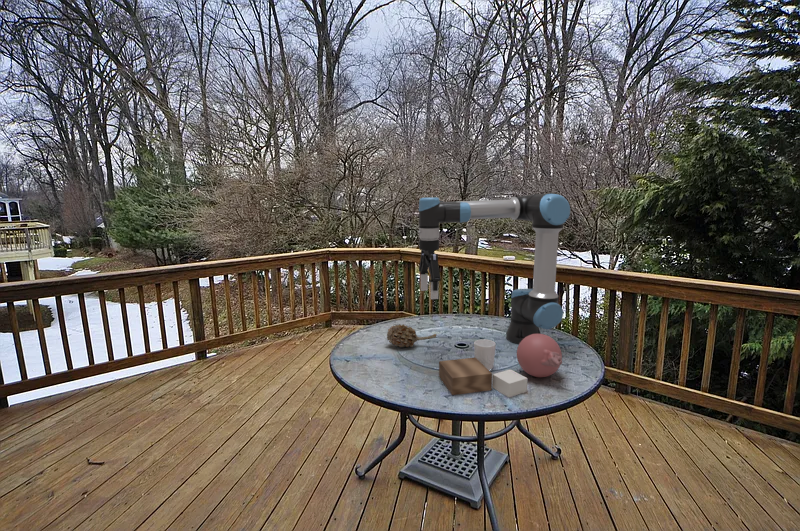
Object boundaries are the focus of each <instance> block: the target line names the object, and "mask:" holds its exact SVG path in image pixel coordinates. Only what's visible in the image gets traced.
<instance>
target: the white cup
mask: <svg viewBox="0 0 800 531" xmlns="http://www.w3.org/2000/svg"><path fill="white" fill-rule="evenodd" d="M473 347H474V350H473V352H474V353H473V354H474V357H476V358H477V359H478V360H479V361H480V362H481V363H482V364H483V365H484V366H485V367H486V368H487V369H488V370H490V369H492V368H493V369H494V364H495V357H496V356H495V355H496V342H495V341H493V340H491V339H484V338H482V339H481V338H480V339H477V340H475V341H474V342H473Z"/></svg>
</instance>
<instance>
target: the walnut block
mask: <svg viewBox="0 0 800 531" xmlns="http://www.w3.org/2000/svg"><path fill="white" fill-rule="evenodd" d="M439 377H440V378H441V379H440V378H439ZM438 378H439V379H440V380H441V382H442V381H443V382H442V384H444V386H445V387H446V389H447V390H448V391H449V393H450V394H451V395H452V396H456V395H457V396H458V395H464V394H466V395H467V394H470V393H471V394H472V393H479V392H480V393H481V392H487V391H488V392H489V391H492V390H493V388H492V380H493V373H492V372H491V371H489V370H488V369H487V368H486V367H485V366H484V365H483V364H482V363H481V362H480V361H479V360H478V359H477V358H476V357H475V356H474V357H466V358H465V357H464V358H458V359H457V358H456V359H449V360H440V361H438Z"/></svg>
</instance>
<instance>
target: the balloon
mask: <svg viewBox="0 0 800 531" xmlns="http://www.w3.org/2000/svg"><path fill="white" fill-rule="evenodd" d="M516 349H517V350H516V359H517V362H518V364H519V366H520V368H521V369H522V370H523V371H524V372H525V373H526V374H527V375H530V376H531V377H536V378H546V377H550V376H552V375H553V374H555V373H556V372H557V371H558V370H559V369H560V366H561V365H562V364H563V360H562V359H563V355H562V354H563V353H562V350H561V347H560V345H559V344H558V342H557V341H556V340H555V339H554V338H553V337H552V336H549V335H547V334H544V333H541V334H531V335H529V336H527V337H525V338H524V339H523V340H522V341H521V342H520V344H518V346H517V348H516Z"/></svg>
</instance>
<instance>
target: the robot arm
mask: <svg viewBox="0 0 800 531" xmlns="http://www.w3.org/2000/svg"><path fill="white" fill-rule="evenodd" d="M570 215H571V205H570V203H569V201H568V200H567V199H566V197H564V196H563V195H561V194H556V193H533V194H529V195H522V196H512V197H511V198H510V199H486V200H462V201H461V200H459V201H458V200H457V201H456V200H455V201H440V198H439V197H438V196H437V197H436V196H434V197H421V198H420V199H419V201H418V231H417V234H418V236H419V240H418V249H419V250H420V259H419V260H420V261H419V265H418V266H419V267H418V271H419V274H420V291H421V292H423V291H428V290H429V285H428V284H429V283H430V300H439V282H440V281H442V280H441V279H442V278H441V273H440V271H441V270H440V265H439V255H438V253H435V251H438V250H439V249H440V239H439V238H440V224H443V223H444V224H448V223H459V224H460V223H461V224H462V223H467V222H469V221H470V220H481V219H483V220H484V219H487V220H489V219H507V218H508V219H509V218H510V219H511V220H514V221H515V220H516V221H517V220H519V221H528V222H531V229H533V231H534V232H535V240H534V242H535V243H534V258H533V259H534V260H533V261H534V263H533V279H532V288H516V289H514V290H512V292H511V297H510V298H511V300H510V301H511V302H510V303H511V305H510V322H509V324H508V325H509V326H508V327H507V331H506V334H505V335H506V336H505V338H506V340H507V341H509V342H511V343H513V344H518V345H519V344H520V342H521V341H522V340H523V339H524V338H525V337H527V336H529V335H531V334H542V333H541V330H540V329H544V330H550V329H554V328H556V327H557V326H558V324H560V323H561V322H562V320H563V317H564V310H563V308H562V306H561V304H559V294H558V293H557V292H556V280H557V279H556V278H557V277H556V276H557V262H558V261H557V260H558V249H559V248H558V246H559V233H560V232H561V231H562V230H563V229H564V224H565V223H566V222H567V220H568V219H569V218H570ZM428 270H429V271H428ZM429 275H430V280H429V277H428V276H429ZM428 280H429V281H428Z"/></svg>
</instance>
